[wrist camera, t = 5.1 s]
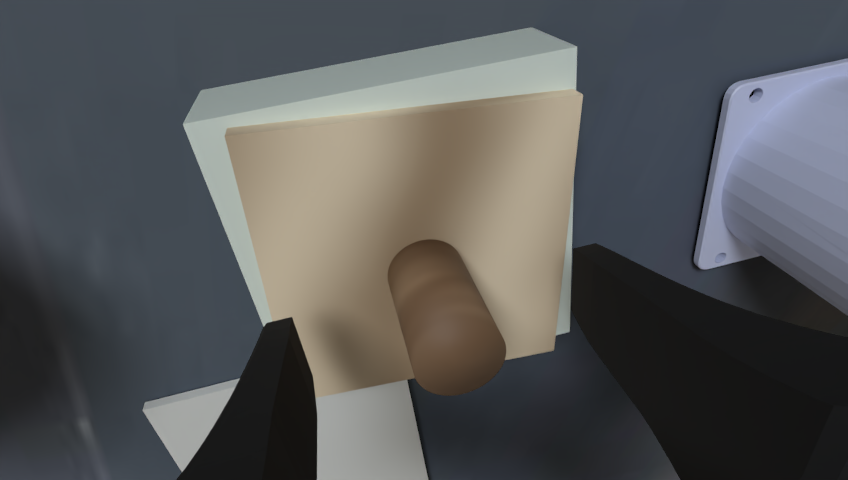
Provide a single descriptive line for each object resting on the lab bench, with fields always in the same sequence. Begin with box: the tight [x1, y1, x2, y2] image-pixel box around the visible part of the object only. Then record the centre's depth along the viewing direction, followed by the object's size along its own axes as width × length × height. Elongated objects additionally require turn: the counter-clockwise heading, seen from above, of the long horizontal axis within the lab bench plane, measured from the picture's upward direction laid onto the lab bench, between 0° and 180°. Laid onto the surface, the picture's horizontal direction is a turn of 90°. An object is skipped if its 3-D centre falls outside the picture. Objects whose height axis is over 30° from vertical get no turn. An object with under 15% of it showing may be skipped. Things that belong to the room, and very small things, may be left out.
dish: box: [183, 27, 577, 398], centre depth 17 cm, size 10×10×3 cm
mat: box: [143, 378, 428, 480], centre depth 23 cm, size 10×10×1 cm
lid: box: [225, 89, 583, 398], centre depth 14 cm, size 9×9×5 cm
